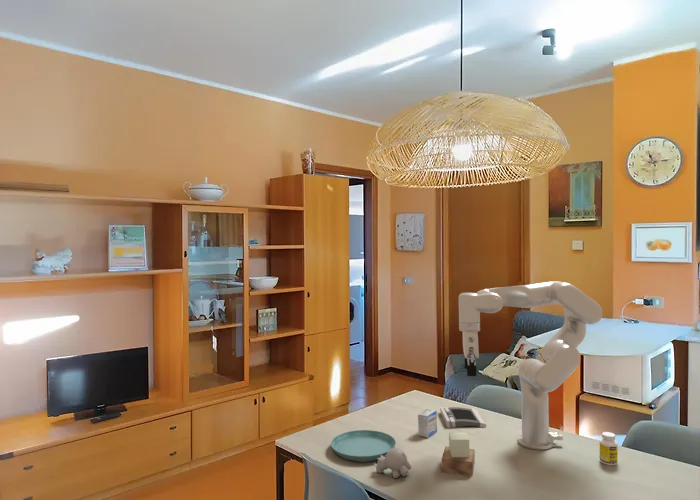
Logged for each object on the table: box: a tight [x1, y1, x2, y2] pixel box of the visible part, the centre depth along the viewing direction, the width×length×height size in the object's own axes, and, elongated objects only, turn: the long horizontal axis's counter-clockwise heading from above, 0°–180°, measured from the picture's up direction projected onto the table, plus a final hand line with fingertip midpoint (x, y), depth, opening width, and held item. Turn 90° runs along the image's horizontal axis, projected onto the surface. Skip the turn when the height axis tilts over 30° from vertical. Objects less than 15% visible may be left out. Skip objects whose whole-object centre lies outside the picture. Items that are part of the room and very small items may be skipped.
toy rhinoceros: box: [373, 447, 412, 479], centre depth 166 cm, size 7×12×8 cm, turn 65°
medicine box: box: [417, 408, 438, 439], centre depth 198 cm, size 8×4×9 cm, turn 143°
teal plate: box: [330, 429, 397, 463], centre depth 185 cm, size 24×24×3 cm
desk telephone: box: [439, 406, 487, 429], centre depth 212 cm, size 17×5×16 cm
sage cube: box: [448, 432, 470, 457], centre depth 169 cm, size 6×6×6 cm
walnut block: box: [441, 445, 476, 477], centre depth 169 cm, size 10×10×5 cm
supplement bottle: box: [599, 431, 618, 466], centre depth 170 cm, size 5×5×10 cm
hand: (470, 372), depth 184 cm, fingers open, 9 cm apart
